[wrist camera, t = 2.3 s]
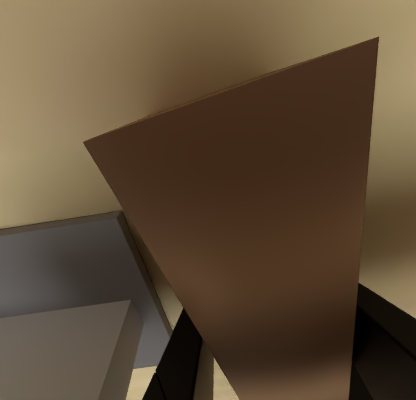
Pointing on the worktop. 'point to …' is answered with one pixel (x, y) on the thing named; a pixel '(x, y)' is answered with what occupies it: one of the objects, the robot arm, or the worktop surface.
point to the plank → (259, 217)
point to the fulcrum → (75, 310)
